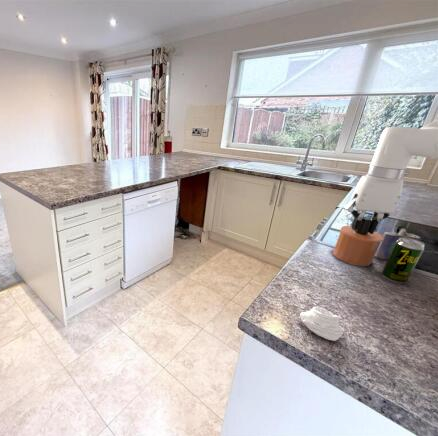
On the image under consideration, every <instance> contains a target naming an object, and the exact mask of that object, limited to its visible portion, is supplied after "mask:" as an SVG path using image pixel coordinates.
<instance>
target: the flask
mask: <svg viewBox="0 0 438 436" xmlns="http://www.w3.org/2000/svg"><path fill="white" fill-rule="evenodd" d="M382 236H383V238H384V239H383V241H382V242H380V244H379V247H378V249H377V251H376V254H375V256H374V258H376V259H379V260H383V261H384V260H385V261H387V260H388V258H389V256H390V254H391V252H392V250H393V248H394V246H395V243H396V241H398V240H399V238H402V237H403V238H410V239H414V240H417V241H420V242H421V241H422V238H421V237H420V236H419V235H416V234H414V233H408V232H407V229H400V230H399V231H398V232H390V231H389V232H388V231H386V232H384V233H383V235H382Z"/></svg>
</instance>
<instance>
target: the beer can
mask: <svg viewBox="0 0 438 436" xmlns="http://www.w3.org/2000/svg"><path fill="white" fill-rule="evenodd" d="M425 246H426V245H425V243H424V242H422V241H421V240H420V241H417V240H414V239H410V238H403V237H402V238H399V240H398V241H396V243H395V246H394V248H393V250H392V252H391V254H390V256H389V258H388V260H386V262H385V264H384V266H383V269H382V271H381V276H382V278H383V279H385V280H387V281H388V282H391V283H393V284H399V285H403V284H405V283H407V282H408V281H409V279H410V277H411V275H412V273H413V271H414V269H415V268H416V266H417V264H418V262H419V260H420V259H421V257H422V254H423V252H424V250H425Z"/></svg>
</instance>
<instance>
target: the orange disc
mask: <svg viewBox="0 0 438 436" xmlns="http://www.w3.org/2000/svg"><path fill="white" fill-rule="evenodd" d="M362 221H363V224H362V227H361V229H360V232H355V231H354V230H353V229H352V227H351V226H352V225H343V226H340V227H339V232H342V233H343V234H344V235H346V236H349V237H351V238H354V239H357V240H361V241H366V242H375V243H376V242H382V241H383V239H384V238H383V235H381V234H380V233H379V232H376V231H374V233H373V234H370V233H369V229H370V227H371V224H372V222H373V219H372V217H369V216H364V217H363V219H362Z"/></svg>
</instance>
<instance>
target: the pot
mask: <svg viewBox="0 0 438 436" xmlns="http://www.w3.org/2000/svg"><path fill="white" fill-rule="evenodd" d="M379 244H380V242H376V243H375V242H366V241H361V240H357V239H354V238H351V237H349V236H346V235H344V234H343V233H342V232H341V231H339V234H338V238H337V240H336V243H335V246H334V249H333V256H334V257H335V258H336V259H338V260H340V261H342V262H344V263H346V264H350V265H354V266H358V267H369V266H370V265H371V264H372V263H373V261H374V258H375V257H374V256H375V254H376V251H377V249H378V247H379Z"/></svg>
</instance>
